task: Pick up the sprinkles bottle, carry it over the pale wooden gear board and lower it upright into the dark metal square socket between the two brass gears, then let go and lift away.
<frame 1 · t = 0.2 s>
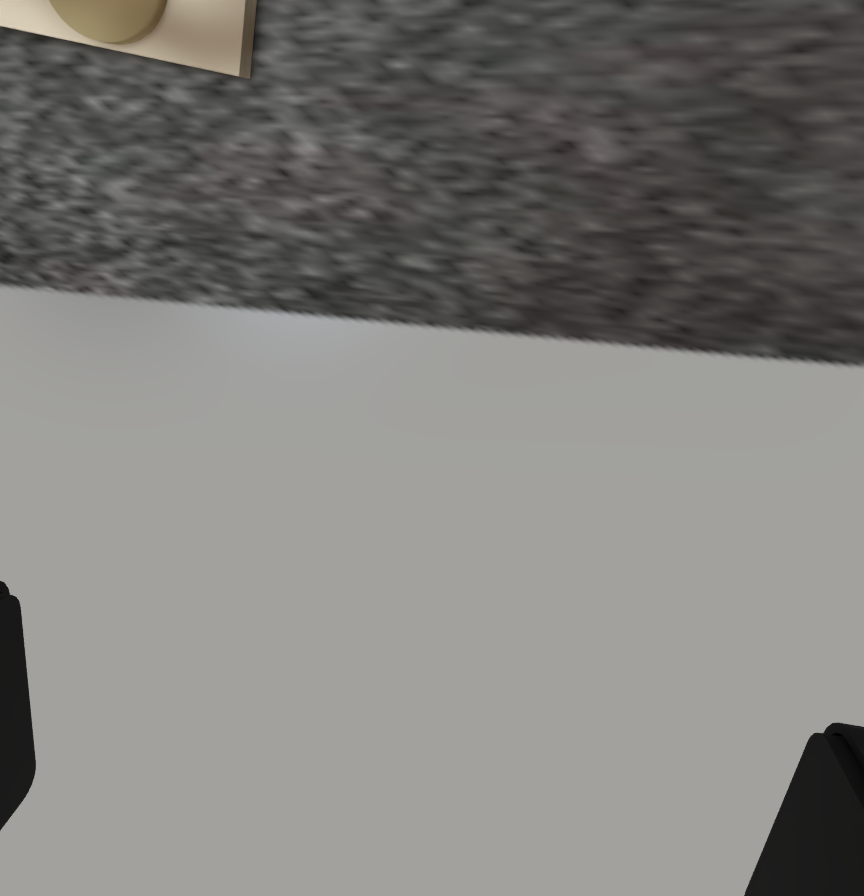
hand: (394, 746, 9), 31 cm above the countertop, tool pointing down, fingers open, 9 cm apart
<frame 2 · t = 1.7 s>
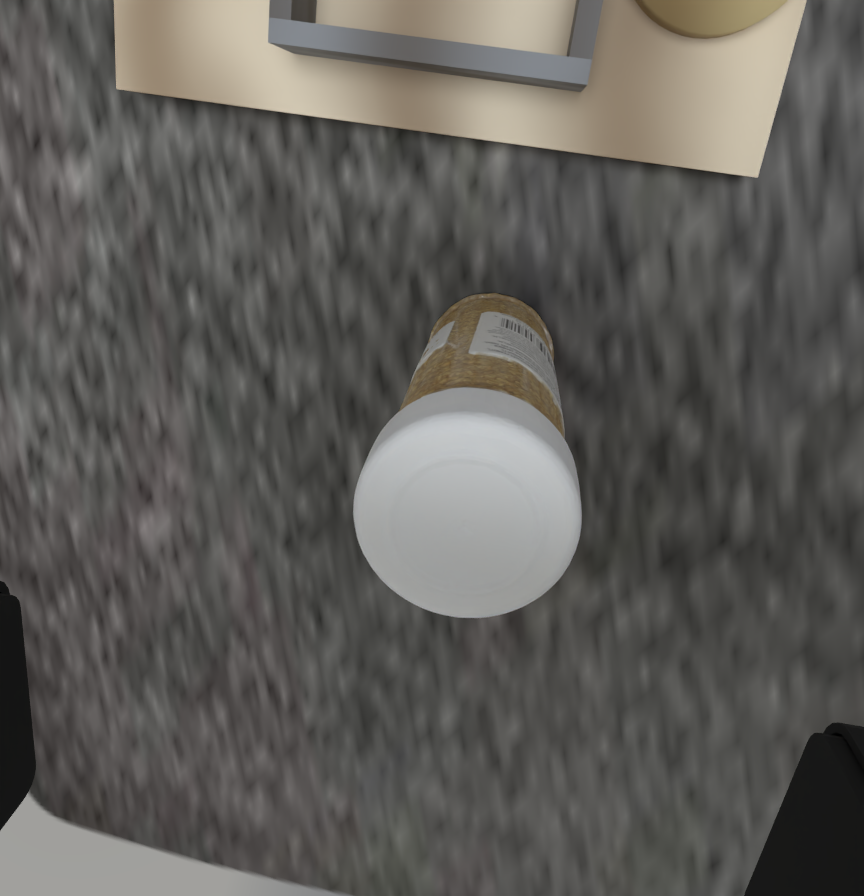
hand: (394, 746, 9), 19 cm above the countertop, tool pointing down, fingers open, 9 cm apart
sprinkles bottle: (491, 353, 27), on the countertop
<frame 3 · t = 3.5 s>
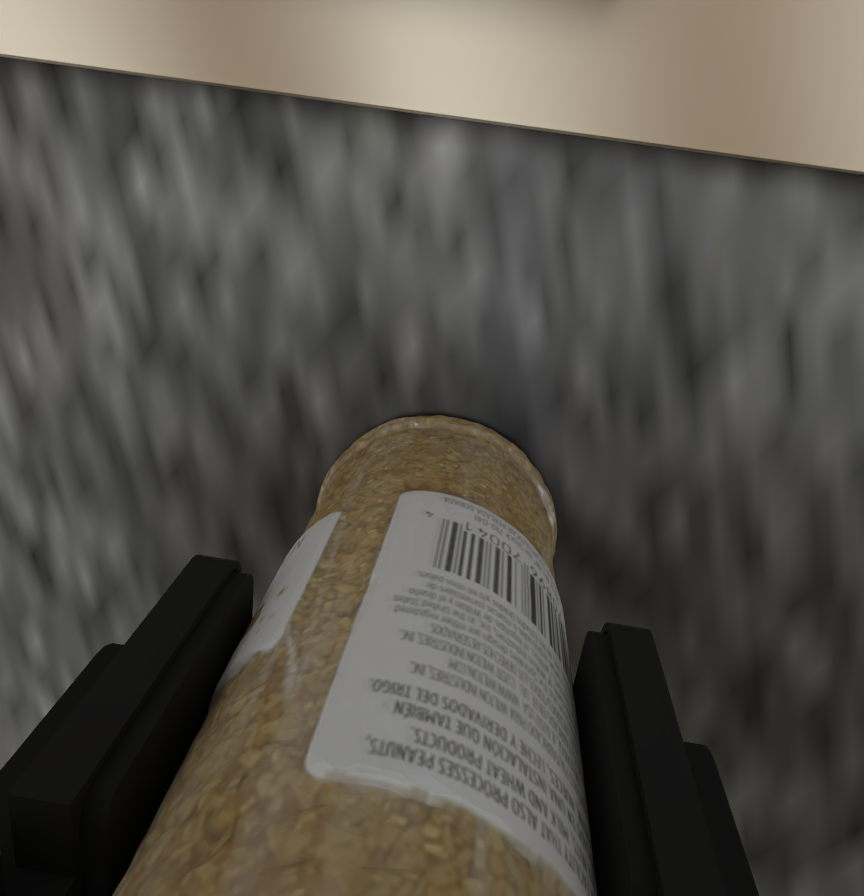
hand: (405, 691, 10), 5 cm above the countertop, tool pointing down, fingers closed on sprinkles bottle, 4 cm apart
sprinkles bottle: (440, 516, 14), on the countertop, touching gripper
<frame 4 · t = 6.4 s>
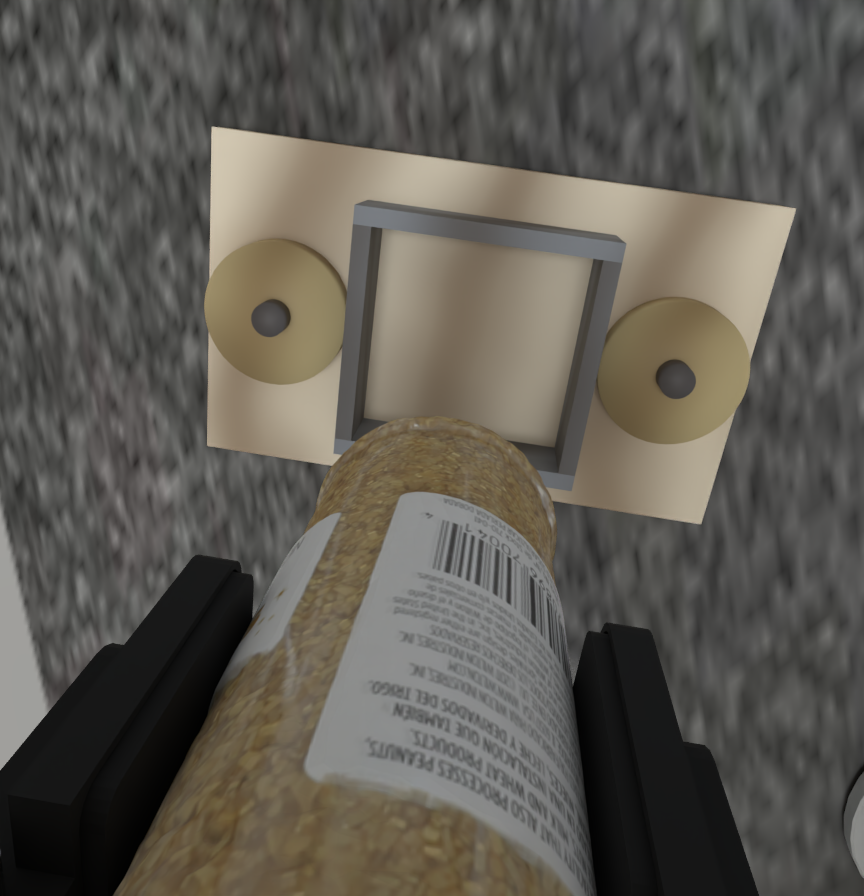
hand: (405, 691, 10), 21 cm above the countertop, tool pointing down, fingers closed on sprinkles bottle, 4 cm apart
sprinkles bottle: (440, 517, 14), point 16 cm above the countertop, touching gripper
gear board: (474, 329, 29), on the countertop
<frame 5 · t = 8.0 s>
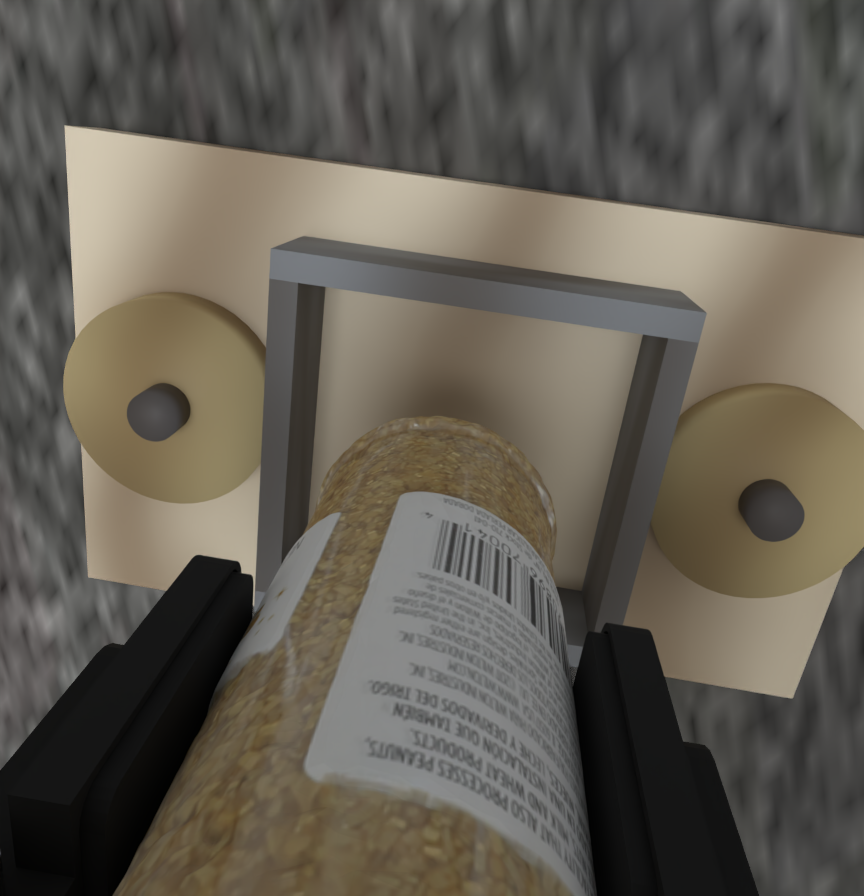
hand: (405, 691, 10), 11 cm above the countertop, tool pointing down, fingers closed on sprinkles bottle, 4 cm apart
sprinkles bottle: (439, 517, 14), point 6 cm above the countertop, touching gripper
gear board: (466, 419, 20), on the countertop
when the fingers open (7 cm above the countertop, at t = 9.2 s): sprinkles bottle stays where it is, resting on gear board.
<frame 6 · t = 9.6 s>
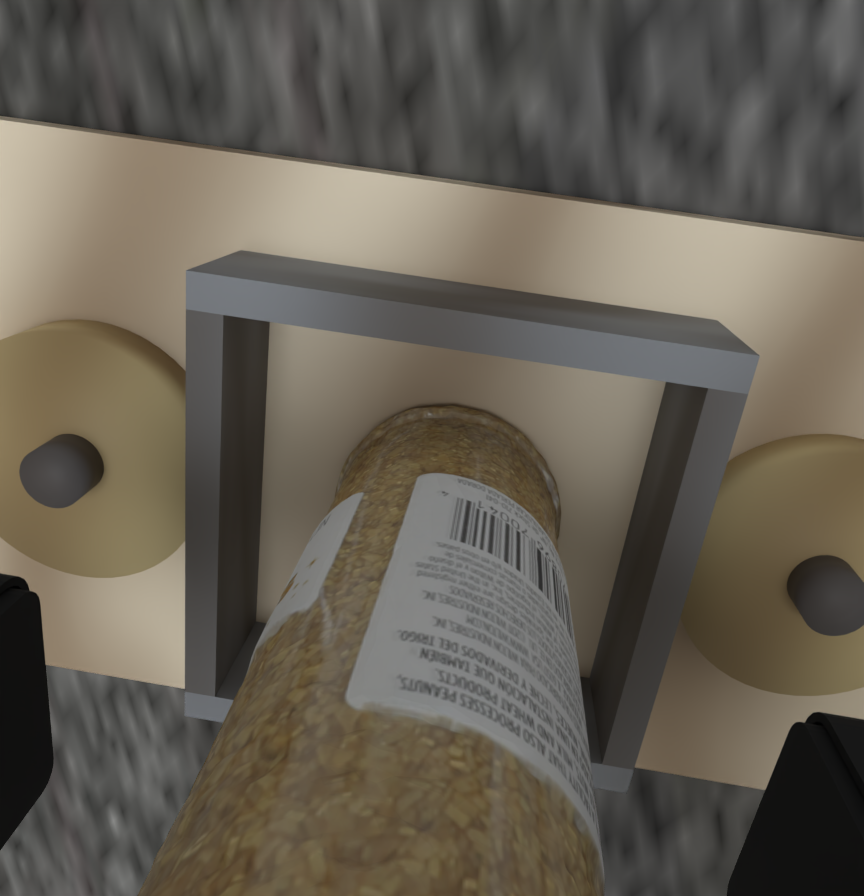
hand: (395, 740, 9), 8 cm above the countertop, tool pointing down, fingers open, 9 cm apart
sprinkles bottle: (451, 501, 15), point 1 cm above the countertop, touching gear board
gear board: (449, 469, 17), on the countertop
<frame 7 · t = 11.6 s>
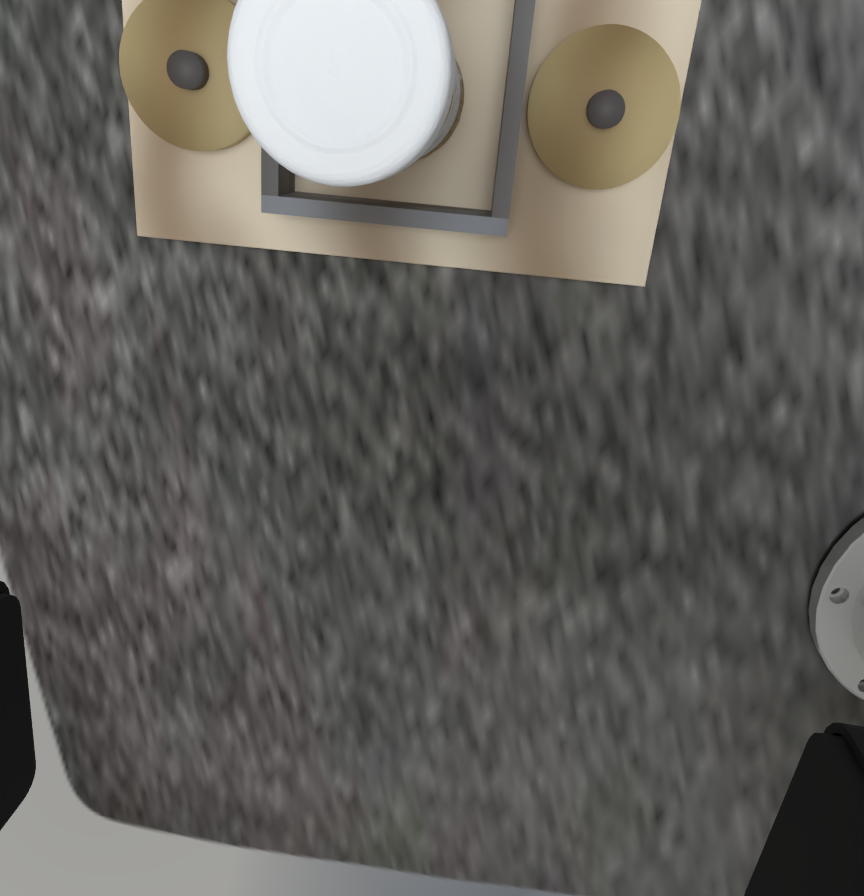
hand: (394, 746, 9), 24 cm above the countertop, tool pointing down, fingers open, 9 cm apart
sprinkles bottle: (404, 96, 27), point 1 cm above the countertop, touching gear board
gear board: (403, 93, 28), on the countertop
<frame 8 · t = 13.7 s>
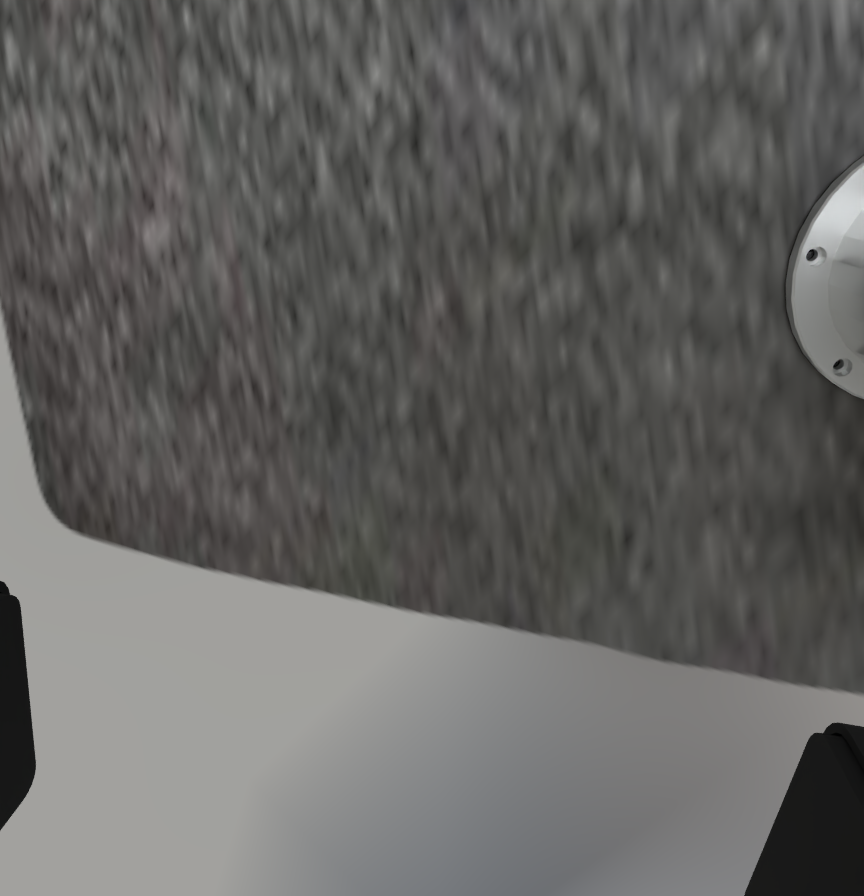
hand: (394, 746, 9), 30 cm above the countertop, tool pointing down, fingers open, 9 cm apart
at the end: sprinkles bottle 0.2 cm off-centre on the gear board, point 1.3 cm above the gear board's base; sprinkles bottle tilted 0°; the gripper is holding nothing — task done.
